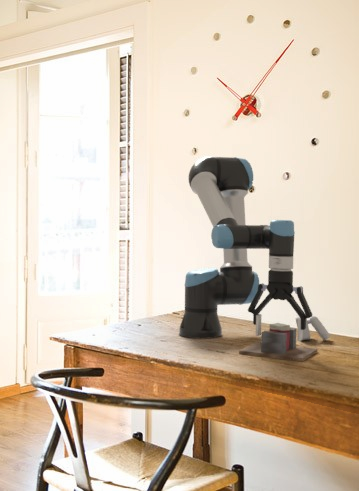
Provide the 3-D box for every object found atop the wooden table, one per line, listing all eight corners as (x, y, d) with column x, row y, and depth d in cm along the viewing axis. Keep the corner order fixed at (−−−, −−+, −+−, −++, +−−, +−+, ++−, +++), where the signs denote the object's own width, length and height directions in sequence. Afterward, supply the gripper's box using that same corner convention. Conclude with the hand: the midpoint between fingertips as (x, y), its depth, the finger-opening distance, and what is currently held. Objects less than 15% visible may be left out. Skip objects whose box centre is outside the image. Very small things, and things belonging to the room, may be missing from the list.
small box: (268, 349, 199) (268, 323, 199) (277, 347, 202) (278, 322, 202) (280, 351, 195) (281, 326, 195) (289, 350, 198) (290, 324, 198)
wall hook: (331, 341, 216) (325, 312, 216) (301, 346, 218) (295, 318, 218) (331, 337, 224) (325, 309, 224) (301, 342, 226) (295, 314, 226)
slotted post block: (239, 353, 196) (239, 331, 196) (257, 344, 210) (258, 323, 210) (302, 361, 187) (302, 337, 187) (317, 351, 201) (318, 329, 201)
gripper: (238, 268, 200) (237, 335, 201) (316, 273, 188) (314, 344, 190) (247, 266, 207) (246, 331, 208) (323, 271, 195) (321, 340, 196)
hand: (278, 337), depth 199 cm, fingers open, 13 cm apart
